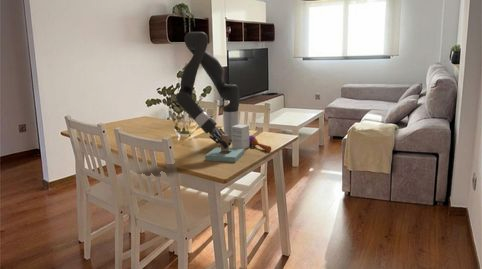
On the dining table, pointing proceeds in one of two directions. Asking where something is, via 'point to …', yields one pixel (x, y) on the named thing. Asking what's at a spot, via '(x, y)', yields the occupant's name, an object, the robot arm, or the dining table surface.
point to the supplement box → (240, 136)
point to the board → (224, 155)
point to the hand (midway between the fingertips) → (228, 146)
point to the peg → (226, 139)
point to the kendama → (254, 142)
